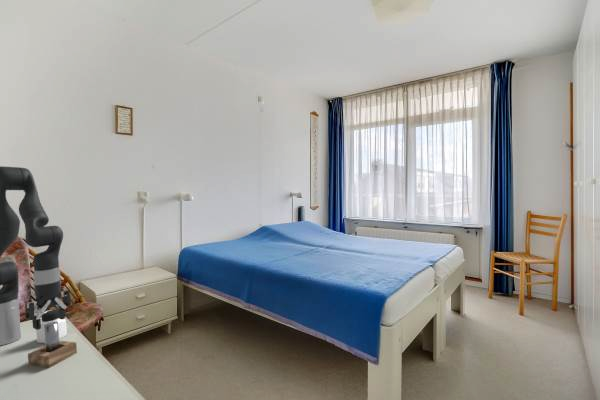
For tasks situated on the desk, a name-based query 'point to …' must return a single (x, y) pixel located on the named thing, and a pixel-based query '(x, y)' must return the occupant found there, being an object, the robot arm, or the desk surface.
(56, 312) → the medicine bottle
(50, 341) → the peg
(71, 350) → the bore block
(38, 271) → the robot arm
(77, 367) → the desk surface
